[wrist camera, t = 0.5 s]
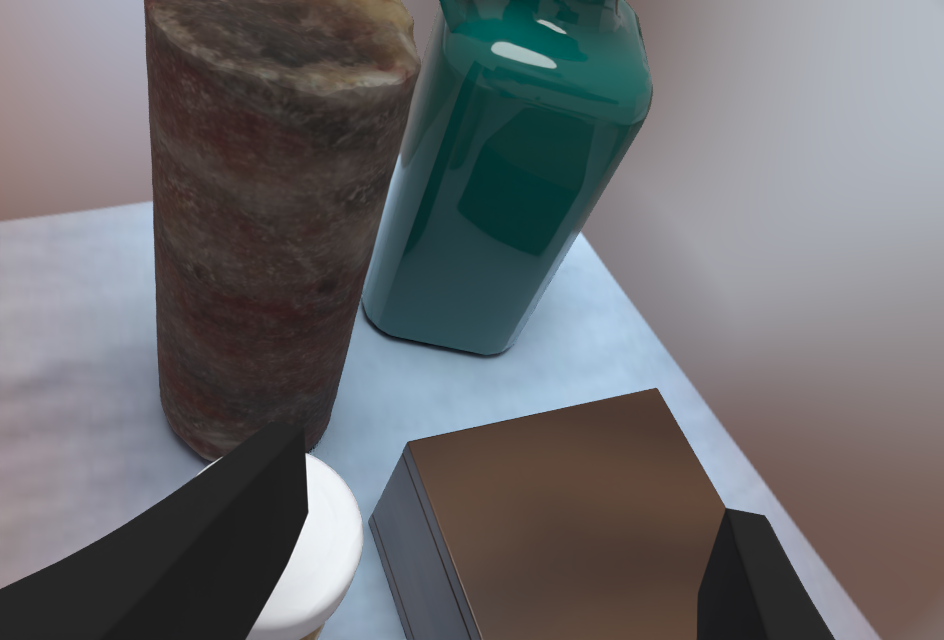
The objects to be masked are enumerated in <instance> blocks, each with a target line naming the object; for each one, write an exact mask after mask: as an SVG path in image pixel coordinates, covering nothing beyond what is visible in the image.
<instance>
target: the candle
mask: <svg viewBox="0 0 944 640" xmlns="http://www.w3.org/2000/svg"><path fill="white" fill-rule="evenodd" d="M144 9H145V27H146V61H147V74H148V95H149V123H150V138H151V156H152V185H153V225H154V250H155V281H156V322H157V350H158V369H159V386H160V397H161V402H162V406H163V409H164V412H165V414H166V417H167V419H168V421H169V423H170V425H171V427H172V429H173V431H174V432H175V433H176V434H177V435H179V436H180V437H181V438H182V439H183V440H184V441H185V442H186V443H187V444H188V445H189V446H190V447H191V448H192V449H193V450H194V451H195V452H197V453H198V454H199V455H200V456H202V457H203V458H204V459H207V460H210V461H213V462H215V461H216V460H218V459H220V458H221V457H223V456H225V455H226V454H227V453H229V452H230V451H231V450H233V449H234V448H235V447H237V446H238V445H239V444H241V443H242V442H243V441H245V440H246V439H247V438H249V437H250V436H251V435H253V434H254V433H255V432H257V431H258V430H259V429H261V428H262V427H264V426H265V425H266V424H268V423H269V422H271V421H275V422H280V423H285V424H291V425H296V426H301V427H304V431H305V451H306V453H307V452H308V451H309V450H310V449H311V448H312V447H313V446H314V445H315V444H316V443H317V442H318V441H319V439H320V438H321V437H322V435H323V433H324V431H325V430H326V428H327V425H328V423H329V420H330V416H331V412H332V408H333V404H334V401H335V398H336V395H337V390H338V386H339V382H340V378H341V375H342V371H343V367H344V363H345V359H346V355H347V351H348V347H349V343H350V339H351V334H352V330H353V326H354V322H355V317H356V313H357V309H358V306H359V302H360V299H361V294H362V290H363V286H364V282H365V278H366V275H367V272H368V268H369V265H370V261H371V258H372V254H373V250H374V246H375V242H376V238H377V234H378V230H379V226H380V222H381V218H382V214H383V210H384V206H385V202H386V199H387V195H388V191H389V187H390V182H391V179H392V176H393V173H394V169H395V166H396V162H397V159H398V155H399V151H400V147H401V143H402V140H403V136H404V133H405V129H406V126H407V121H408V116H409V111H410V106H411V101H412V97H413V93H414V89H415V85H416V82H417V79H418V76H419V73H420V70H421V60H420V57H419V56H418V55H417V50H416V45H415V42H414V37H413V25H414V20H413V17H412V16H410V15H409V12H408V10H407V9H406V7H405V6H404V5H403V3H402V2H401V0H144Z"/></svg>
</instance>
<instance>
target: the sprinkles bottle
mask: <svg viewBox="0 0 944 640" xmlns="http://www.w3.org/2000/svg"><path fill="white" fill-rule="evenodd" d="M221 458H222V457H221ZM221 458H220V459H221ZM218 460H219V459H218ZM218 460H216V461H215V462H217V461H218ZM215 462H213V463H211V464H210V465H208V466H207V467H206V468H204V469H203V470H202V471H200V472H199V473H198V474H197V475H199V474H200V473H202V472H203V471H204V470H206V469H207V468H209V467H210V466H211V465H213V464H214V463H215ZM306 471H307V491H308V511H309V513H308V515H307V518H306V521H305V523H304V526H303V528H302V531H301V533H300V536H299V538H298V541H297V543H296V546H295V548H294V550H293V553H292V555H291V557H290V560H289V562H288V565H287V566H286V568H285V570H284V572H283V574H282V576H281V578H280V579H279V581H278V583H277V585H276V587H275V588H274V590H273V592H272V594H271V596H270V597H269V599H268V601H267V603H266V605H265V606H264V608H263V610H262V612H261V613H260V615H259V617H258V619H257V620H256V622H255V624H254V626H253V628H252V629H251V631H250V633H249V635H248V636H247V638H246V640H317V639H318V637H319V635H320V633H321V631H322V628H323V626H324V624H325V621H326V620H327V619H328V618H329V617H330V616H331V615H332V614H333V613H334V611H335V610H336V609H337V607H338V606H339V605H340V603H341V601H342V600H343V598H344V596H345V594H346V592H347V590H348V588H349V586H350V584H351V582H352V579H353V577H354V574H355V572H356V569H357V567H358V564H359V561H360V558H361V553H362V547H363V524H362V518H361V514H360V510H359V507H358V504H357V502H356V499H355V497H354V495H353V493H352V491H351V490H350V488H349V487H348V485H347V484H346V483H345V481H344V480H343V479H342V478H341V477H340V476H339V475H338V474H337V473H336V472H335V471H334V470H333V469H332V468H331V467H329V466H328V465H327V464H325V463H324V462H323V461H321V460H319V459H317V458H316V457H314V456H312V455H309V454H307V453H306ZM197 475H196V476H197ZM196 476H195V477H196ZM195 477H194V478H195Z"/></svg>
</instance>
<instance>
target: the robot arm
mask: <svg viewBox="0 0 944 640" xmlns="http://www.w3.org/2000/svg"><path fill="white" fill-rule="evenodd" d="M308 513H309V511H308V491H307V471H306V451H305V431H304V427H301V426H296V425H291V424H285V423H280V422H275V421H271V422H269V423H268V424H266V425H265V426H264V427H262V428H261V429H259V430H258V431H257V432H255V433H254V434H253V435H251V436H250V437H249V438H247V439H246V440H245V441H243V442H242V443H241V444H239V445H238V446H237V447H235V448H234V449H233V450H231V451H230V452H229V453H227V454H226V455H225V456H223V457H222V458H221V459H219V460H218V461H217V462H215V463H214V464H213V465H211V466H210V467H209V468H207V469H206V470H204V471H203V472H202V473H200V474H199V475H197V476H196V477H195V478H193V479H192V480H190V481H189V482H188V483H186V484H185V485H183V486H182V487H181V488H179V489H178V490H176V491H175V492H173V493H172V494H171V495H169V496H168V497H166V498H165V499H163V500H162V501H160V502H159V503H157V504H156V505H154V506H152V507H151V508H149V509H148V510H146V511H145V512H143V513H142V514H140V515H139V516H137V517H136V518H134V519H132V520H131V521H129V522H128V523H126V524H125V525H123V526H121V527H120V528H118V529H116V530H115V531H113V532H111V533H110V534H108V535H106V536H105V537H103V538H101V539H99V540H98V541H96V542H94V543H92V544H90V545H89V546H87V547H85V548H83V549H81V550H79V551H77V552H76V553H74V554H72V555H70V556H68V557H66V558H64V559H62V560H61V561H59V562H57V563H55V564H52V565H50V566H48V567H46V568H44V569H42V570H40V571H38V572H36V573H33V574H31V575H29V576H27V577H25V578H23V579H21V580H19V581H16V582H14V583H12V584H10V585H8V586H6V587H4V588H2V589H0V640H246V638H247V636H248V635H249V633H250V631H251V629H252V628H253V626H254V624H255V622H256V620H257V619H258V617H259V615H260V613H261V612H262V610H263V608H264V606H265V605H266V603H267V601H268V599H269V597H270V596H271V594H272V592H273V590H274V588H275V587H276V585H277V583H278V581H279V579H280V578H281V576H282V574H283V572H284V570H285V568H286V566H287V565H288V562H289V560H290V557H291V555H292V553H293V550H294V548H295V546H296V543H297V541H298V538H299V536H300V533H301V531H302V528H303V526H304V523H305V521H306V518H307V515H308ZM697 640H835V639H834V637H833V635H832V634H831V632H830V630H829V629H828V627H827V625H826V624H825V622H824V620H823V619H822V617H821V615H820V614H819V612H818V610H817V609H816V607H815V605H814V604H813V602H812V600H811V599H810V597H809V595H808V593H807V592H806V590H805V588H804V586H803V585H802V583H801V581H800V579H799V577H798V576H797V574H796V572H795V570H794V568H793V566H792V565H791V563H790V561H789V559H788V557H787V555H786V553H785V551H784V550H783V548H782V546H781V544H780V542H779V540H778V538H777V536H776V534H775V532H774V530H773V528H772V526H771V524H770V522H769V521H768V520H767V518H766V517H765V515H760V514H754V513H749V512H744V511H739V510H734V509H728V508H726V509H725V512H724V515H723V518H722V521H721V524H720V527H719V530H718V533H717V536H716V539H715V542H714V545H713V548H712V551H711V554H710V557H709V560H708V563H707V566H706V569H705V573H704V576H703V579H702V582H701V585H700V588H699V591H698V600H697Z"/></svg>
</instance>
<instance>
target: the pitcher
mask: <svg viewBox="0 0 944 640" xmlns="http://www.w3.org/2000/svg"><path fill="white" fill-rule="evenodd" d="M439 1H440V3H439V7H438V10H437V14H436V17H435V21H434V24H433V27H432V31H431V34H430V37H429V41H428V44H427V48H426V51H425V54H424V58H423V61H422V64H421V70H420V73H419V76H418V79H417V82H416V85H415V89H414V93H413V97H412V101H411V106H410V111H409V116H408V121H407V126H406V129H405V133H404V136H403V140H402V143H401V147H400V151H399V155H398V159H397V162H396V166H395V169H394V173H393V176H392V179H391V182H390V187H389V191H388V195H387V199H386V202H385V206H384V210H383V214H382V218H381V222H380V226H379V230H378V234H377V238H376V242H375V246H374V250H373V254H372V258H371V261H370V265H369V268H368V272H367V275H366V278H365V284H364V290H363V297H362V303H363V305H364V308H365V311H366V314H367V317H368V318H369V319H370V320H371V321H372V322H373V323H374V324H375V326H376V327H377V328H378V329H380V330H382V331H384V332H386V333H387V334H389V335H391V336H395V337H400V338H405V339H410V340H415V341H419V342H424V343H429V344H434V345H439V346H444V347H449V348H454V349H458V350H463V351H468V352H473V353H478V354H483V355H490V354H497V353H501V352H503V351H504V350H506V349H507V348H509V347H511V346H512V345H514V343H515V341H516V339H517V338H518V336H519V334H520V333H521V331H522V329H523V327H524V326H525V324H526V322H527V321H528V319H529V317H530V316H531V314H532V312H533V310H534V309H535V307H536V305H537V304H538V302H539V300H540V299H541V297H542V295H543V293H544V292H545V290H546V288H547V287H548V285H549V283H550V282H551V280H552V278H553V276H554V275H555V273H556V271H557V270H558V268H559V266H560V264H561V263H562V261H563V259H564V258H565V256H566V254H567V253H568V251H569V249H570V247H571V246H572V244H573V242H574V241H575V239H576V237H577V236H578V234H579V232H580V230H581V229H582V227H583V225H584V224H585V222H586V220H587V218H588V217H589V215H590V213H591V212H592V210H593V208H594V206H595V205H596V203H597V201H598V200H599V198H600V196H601V195H602V193H603V191H604V190H605V188H606V186H607V184H608V183H609V181H610V179H611V178H612V176H613V174H614V172H615V171H616V169H617V167H618V166H619V164H620V162H621V161H622V159H623V157H624V155H625V154H626V152H627V150H628V148H629V147H630V145H631V143H632V141H633V140H634V138H635V137H636V135H637V133H638V132H639V130H640V128H641V127H642V125H643V122H644V120H645V119H646V117H647V114H648V112H649V110H650V106H651V102H652V96H653V86H652V81H651V75H650V70H649V66H648V61H647V56H646V51H645V46H644V41H643V36H642V32H641V27H640V22H639V17H638V16H637V14H636V13H635V11H634V10H633V9H632V7H631V6H630V5H629V4H628V3H627V2H626V1H625V0H439Z"/></svg>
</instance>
